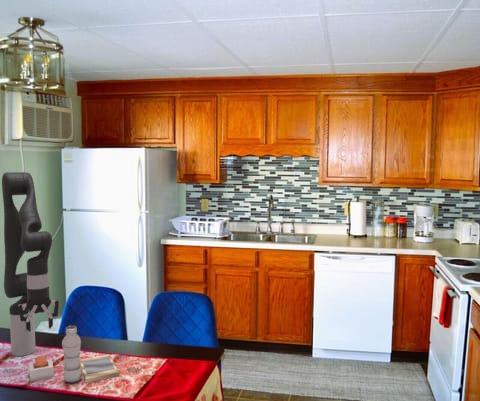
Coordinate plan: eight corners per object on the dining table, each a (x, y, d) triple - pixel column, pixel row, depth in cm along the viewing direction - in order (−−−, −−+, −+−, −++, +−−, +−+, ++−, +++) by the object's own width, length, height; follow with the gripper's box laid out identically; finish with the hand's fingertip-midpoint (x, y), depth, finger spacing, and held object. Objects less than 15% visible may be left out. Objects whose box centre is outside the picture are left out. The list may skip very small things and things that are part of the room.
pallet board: (78, 363, 187) (78, 359, 187) (109, 357, 192) (109, 353, 192) (86, 383, 171) (85, 378, 171) (119, 376, 176) (119, 371, 176)
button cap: (34, 367, 178) (34, 357, 177) (46, 365, 180) (45, 355, 179) (35, 371, 174) (35, 361, 174) (47, 369, 176) (46, 359, 176)
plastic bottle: (76, 385, 169) (74, 331, 167) (59, 383, 170) (57, 330, 169) (85, 377, 175) (84, 325, 173) (69, 375, 177) (67, 323, 175)
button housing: (29, 372, 179) (28, 362, 179) (51, 368, 183) (51, 358, 182) (30, 381, 172) (29, 371, 172) (53, 377, 175) (53, 366, 175)
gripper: (57, 280, 181) (59, 323, 182) (16, 285, 174) (18, 329, 176) (60, 285, 174) (61, 329, 176) (16, 290, 167) (18, 336, 169)
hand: (39, 329), depth 176 cm, fingers open, 6 cm apart
